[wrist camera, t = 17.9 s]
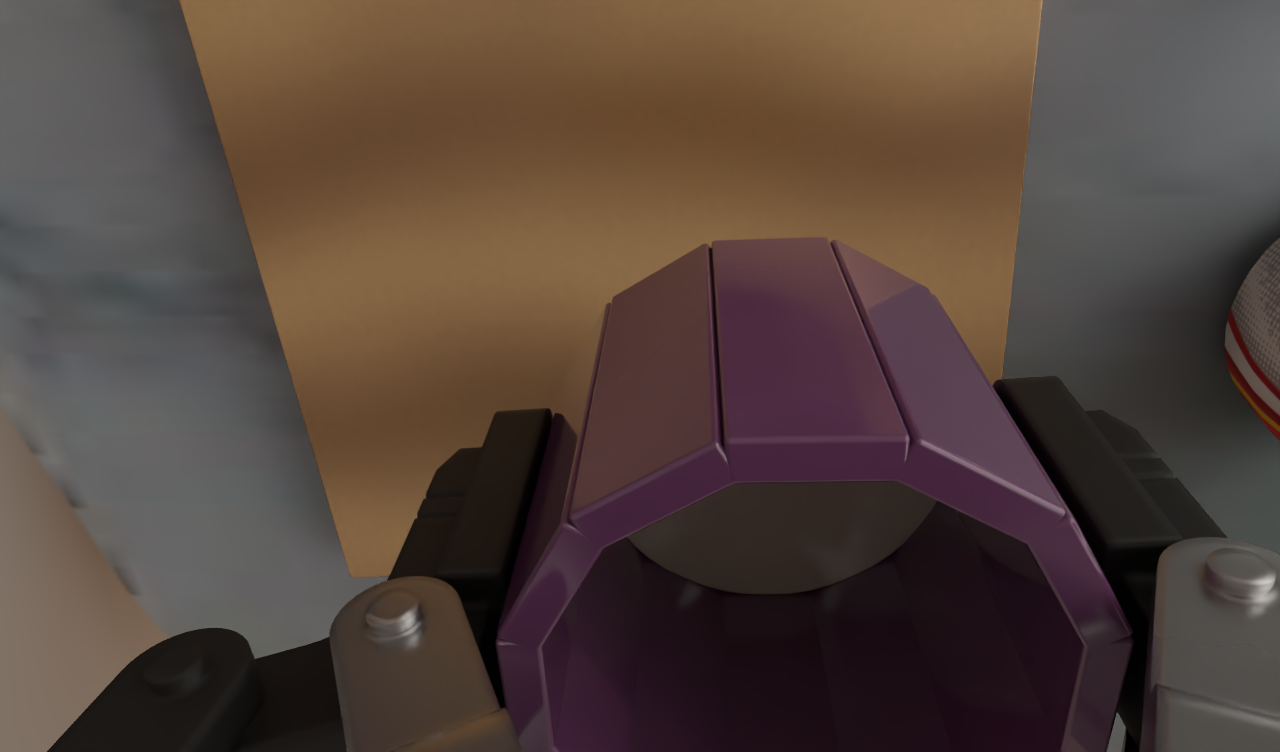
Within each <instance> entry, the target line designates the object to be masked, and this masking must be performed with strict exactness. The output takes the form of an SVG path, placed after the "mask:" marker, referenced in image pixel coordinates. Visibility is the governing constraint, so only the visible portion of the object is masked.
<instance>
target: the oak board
mask: <svg viewBox="0 0 1280 752" xmlns="http://www.w3.org/2000/svg"><path fill="white" fill-rule="evenodd" d="M179 1H180V5H181V8H182V11H183V15H184V18H185V21H186V25H187V28H188V32H189V35H190V38H191V42H192V45H193V48H194V52H195V55H196V58H197V62H198V65H199V69H200V72H201V75H202V79H203V82H204V85H205V89H206V92H207V96H208V99H209V102H210V106H211V109H212V112H213V116H214V119H215V122H216V126H217V129H218V133H219V136H220V139H221V143H222V146H223V149H224V153H225V156H226V159H227V163H228V166H229V170H230V173H231V176H232V180H233V183H234V186H235V190H236V193H237V197H238V200H239V203H240V207H241V210H242V213H243V217H244V220H245V223H246V227H247V230H248V234H249V237H250V240H251V244H252V247H253V250H254V254H255V257H256V261H257V264H258V267H259V271H260V274H261V277H262V281H263V284H264V287H265V291H266V294H267V298H268V301H269V304H270V308H271V311H272V314H273V318H274V321H275V325H276V328H277V331H278V335H279V338H280V341H281V345H282V348H283V351H284V355H285V358H286V362H287V365H288V368H289V372H290V375H291V378H292V382H293V385H294V389H295V392H296V395H297V399H298V402H299V405H300V409H301V412H302V415H303V419H304V422H305V426H306V429H307V432H308V436H309V439H310V442H311V446H312V449H313V453H314V456H315V459H316V463H317V466H318V469H319V473H320V476H321V479H322V483H323V486H324V490H325V493H326V496H327V500H328V503H329V506H330V510H331V513H332V517H333V520H334V523H335V527H336V530H337V533H338V537H339V540H340V543H341V547H342V550H343V554H344V557H345V560H346V564H347V567H348V570H349V574H350V577H375V576H390V574H391V571H392V569H393V567H394V565H395V562H396V560H397V558H398V555H399V553H400V551H401V549H402V546H403V544H404V542H405V540H406V537H407V535H408V533H409V531H410V528H411V526H412V524H413V522H414V519H417V513H418V510H419V508H420V506H421V503H422V501H423V499H426V492H427V490H428V488H429V485H430V483H431V481H432V479H433V476H434V474H435V472H436V470H437V469H438V468H439V467H440V466H441V465H442V464H444V463H445V462H446V461H447V460H448V459H449V458H450V457H451V456H452V455H454V454H455V453H456V452H457V451H458V450H459V449H460V448H476V447H482V445H483V443H484V440H485V438H486V435H487V432H488V430H489V427H490V424H491V422H492V419H493V416H494V414H495V413H496V412H497V411H507V410H522V409H538V408H550V410H551V412H552V414H553V418H554V414H555V410H556V406H557V402H558V399H559V395H560V391H561V387H562V384H563V383H564V381H565V379H566V377H567V375H568V373H569V372H570V370H571V368H572V366H573V364H574V362H575V361H576V359H577V357H578V355H579V353H580V351H581V349H582V348H583V346H584V344H585V342H586V340H587V338H588V337H589V335H590V333H591V331H592V329H593V327H594V325H595V324H596V322H597V320H598V318H599V316H600V314H601V313H602V311H603V309H604V307H605V305H606V304H607V303H611V301H612V298H613V297H614V296H615V295H617V294H619V293H621V292H622V291H624V290H626V289H627V288H629V287H631V286H633V285H634V284H636V283H638V282H639V281H641V280H643V279H644V278H646V277H648V276H650V275H651V274H653V273H655V272H656V271H658V270H660V269H662V268H663V267H665V266H667V265H668V264H670V263H672V262H673V261H675V260H677V259H679V258H680V257H682V256H684V255H685V254H687V253H689V252H691V251H692V250H694V249H696V248H697V247H699V246H701V245H702V244H706V243H707V244H708V245H710V247H711V244H712V242H713V241H715V240H747V239H780V238H812V237H826V238H828V240H829V242H831V241H832V240H838V241H840V242H842V243H844V244H846V245H847V246H849V247H851V248H853V249H855V250H857V251H859V252H861V253H863V254H864V255H866V256H868V257H870V258H872V259H874V260H876V261H878V262H880V263H881V264H883V265H885V266H887V267H889V268H891V269H893V270H895V271H897V272H898V273H900V274H902V275H904V276H906V277H908V278H910V279H912V280H914V281H915V282H917V283H919V284H921V285H923V286H925V287H927V288H928V289H929V290H930V292H931V293H932V294H934V295H935V296H936V297H937V298H938V300H939V302H940V303H941V305H942V306H943V308H944V310H945V311H946V313H947V314H948V316H949V318H950V319H951V321H952V322H953V324H954V326H955V327H956V329H957V330H958V332H959V334H960V335H961V337H962V338H963V340H964V342H965V343H966V345H967V346H968V348H969V350H970V351H971V353H972V354H973V356H974V358H975V359H976V361H977V362H978V364H979V366H980V367H981V369H982V370H983V372H984V374H985V375H986V377H987V378H988V380H989V382H990V383H991V385H992V386H993V384H994V382H995V381H996V380H1000V379H1002V375H1003V366H1004V357H1005V348H1006V338H1007V329H1008V320H1009V310H1010V301H1011V292H1012V282H1013V273H1014V264H1015V255H1016V245H1017V236H1018V227H1019V217H1020V208H1021V199H1022V189H1023V180H1024V171H1025V162H1026V152H1027V143H1028V134H1029V124H1030V115H1031V106H1032V96H1033V87H1034V78H1035V69H1036V59H1037V50H1038V41H1039V31H1040V22H1041V13H1042V3H1043V0H179Z"/></svg>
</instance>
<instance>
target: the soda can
mask: <svg viewBox="0 0 1280 752" xmlns="http://www.w3.org/2000/svg"><path fill="white" fill-rule="evenodd" d="M1225 354H1226V361H1227V366H1228V369H1229V372H1230V375H1231V377H1232V380H1233V382H1234V384H1235V385H1236V387H1237V388H1238V390H1239V392H1240V393H1241V395H1242V396H1243V397H1244V399H1245V400H1246V401H1247V402H1248V404H1249V405H1250V406H1251V407H1252V409H1253V410H1254V411H1255V412H1256V414H1257V415H1258V416H1259V417H1260V419H1261V420H1262V421H1263V423H1264V424H1265V425H1266V426H1267V428H1268V429H1269V430H1270V431H1271V432H1272V433H1273V434H1274V435H1275V436H1276V437H1277V438H1278V439H1279V440H1280V237H1279V238H1278V239H1277V240H1276V241H1275V242H1274V243H1273V244H1272V245H1271V246H1270V247H1269V248H1268V249H1267V250H1266V251H1265V252H1264V253H1263V255H1262V256H1261V257H1260V258H1259V260H1258V261H1257V262H1256V264H1255V265H1254V266H1253V267H1252V269H1251V270H1250V271H1249V273H1248V275H1247V277H1246V278H1245V280H1244V282H1243V283H1242V285H1241V287H1240V288H1239V290H1238V292H1237V295H1236V297H1235V300H1234V302H1233V305H1232V307H1231V309H1230V313H1229V317H1228V322H1227V326H1226V333H1225Z"/></svg>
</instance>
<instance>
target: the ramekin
mask: <svg viewBox="0 0 1280 752" xmlns="http://www.w3.org/2000/svg"><path fill="white" fill-rule="evenodd" d="M1132 634H1133V628H1132V626H1131V624H1130V622H1129V620H1128V618H1127V616H1126V615H1125V613H1124V611H1123V609H1122V607H1121V605H1120V603H1119V601H1118V599H1117V597H1116V596H1115V594H1114V592H1113V590H1112V588H1111V586H1110V584H1109V582H1108V580H1107V578H1106V577H1105V575H1104V573H1103V571H1102V569H1101V567H1100V565H1099V563H1098V561H1097V559H1096V558H1095V556H1094V554H1093V552H1092V550H1091V548H1090V546H1089V544H1088V542H1087V540H1086V539H1085V537H1084V535H1083V533H1082V531H1081V529H1080V527H1079V525H1078V523H1077V521H1076V520H1075V518H1074V516H1073V515H1072V513H1071V511H1070V510H1069V508H1068V507H1067V505H1066V503H1065V502H1064V500H1063V499H1062V497H1061V495H1060V494H1059V492H1058V491H1057V489H1056V487H1055V486H1054V484H1053V483H1052V481H1051V479H1050V478H1049V476H1048V475H1047V473H1046V471H1045V470H1044V468H1043V467H1042V465H1041V463H1040V462H1039V460H1038V459H1037V457H1036V455H1035V454H1034V452H1033V451H1032V449H1031V447H1030V446H1029V444H1028V443H1027V441H1026V439H1025V438H1024V436H1023V435H1022V433H1021V431H1020V430H1019V428H1018V427H1017V425H1016V423H1015V422H1014V420H1013V419H1012V417H1011V415H1010V414H1009V412H1008V410H1007V409H1006V407H1005V406H1004V404H1003V402H1002V401H1001V399H1000V398H999V396H998V394H997V393H996V391H995V390H994V388H993V386H992V385H991V383H990V382H989V380H988V378H987V377H986V375H985V374H984V372H983V370H982V369H981V367H980V366H979V364H978V362H977V361H976V359H975V358H974V356H973V354H972V353H971V351H970V350H969V348H968V346H967V345H966V343H965V342H964V340H963V338H962V337H961V335H960V334H959V332H958V330H957V329H956V327H955V326H954V324H953V322H952V321H951V319H950V318H949V316H948V314H947V313H946V311H945V310H944V308H943V306H942V305H941V303H940V302H939V300H938V298H937V297H936V296H935V295H934V294H932V293H931V292H930V290H929V289H928V288H927V287H925V286H923V285H921V284H919V283H917V282H915V281H914V280H912V279H910V278H908V277H906V276H904V275H902V274H900V273H898V272H897V271H895V270H893V269H891V268H889V267H887V266H885V265H883V264H881V263H880V262H878V261H876V260H874V259H872V258H870V257H868V256H866V255H864V254H863V253H861V252H859V251H857V250H855V249H853V248H851V247H849V246H847V245H846V244H844V243H842V242H840V241H838V240H832V241H831V242H829V240H828V238H826V237H812V238H780V239H747V240H715V241H713V242H712V244H711V247H710V245H708V244H707V243H706V244H702V245H701V246H699V247H697V248H696V249H694V250H692V251H691V252H689V253H687V254H685V255H684V256H682V257H680V258H679V259H677V260H675V261H673V262H672V263H670V264H668V265H667V266H665V267H663V268H662V269H660V270H658V271H656V272H655V273H653V274H651V275H650V276H648V277H646V278H644V279H643V280H641V281H639V282H638V283H636V284H634V285H633V286H631V287H629V288H627V289H626V290H624V291H622V292H621V293H619V294H617V295H615V296H614V297H613V298H612V301H611V303H607V304H606V305H605V307H604V309H603V311H602V313H601V314H600V316H599V318H598V320H597V322H596V324H595V325H594V327H593V329H592V331H591V333H590V335H589V337H588V338H587V340H586V342H585V344H584V346H583V348H582V349H581V351H580V353H579V355H578V357H577V359H576V361H575V362H574V364H573V366H572V368H571V370H570V372H569V373H568V375H567V377H566V379H565V381H564V383H563V384H562V387H561V391H560V395H559V399H558V402H557V406H556V410H555V414H554V418H553V421H552V425H551V429H550V433H549V436H548V440H547V444H546V448H545V452H544V455H543V459H542V463H541V467H540V471H539V474H538V478H537V482H536V486H535V489H534V493H533V497H532V501H531V505H530V508H529V512H528V516H527V520H526V523H525V527H524V531H523V535H522V539H521V542H520V546H519V550H518V554H517V558H516V561H515V565H514V569H513V573H512V576H511V580H510V584H509V588H508V592H507V595H506V599H505V603H504V607H503V610H502V614H501V618H500V622H499V626H498V629H497V637H496V640H495V647H496V654H497V660H498V666H499V673H500V679H501V685H502V692H503V698H504V704H505V708H506V709H507V711H508V713H509V715H510V718H511V720H512V723H513V725H514V728H515V731H516V733H517V736H518V739H519V741H520V744H521V747H522V749H523V752H1107V748H1108V744H1109V740H1110V736H1111V732H1112V728H1113V724H1114V720H1115V717H1116V713H1117V709H1118V705H1119V701H1120V697H1121V693H1122V689H1123V685H1124V681H1125V678H1126V674H1127V670H1128V666H1129V662H1130V658H1131V654H1132V650H1133V646H1134V640H1133V637H1132Z"/></svg>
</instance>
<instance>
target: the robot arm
mask: <svg viewBox="0 0 1280 752" xmlns="http://www.w3.org/2000/svg"><path fill="white" fill-rule="evenodd" d="M993 388H994V390H995V391H996V393H997V394H998V396H999V398H1000V399H1001V401H1002V402H1003V404H1004V406H1005V407H1006V409H1007V410H1008V412H1009V414H1010V415H1011V417H1012V419H1013V420H1014V422H1015V423H1016V425H1017V427H1018V428H1019V430H1020V431H1021V433H1022V435H1023V436H1024V438H1025V439H1026V441H1027V443H1028V444H1029V446H1030V447H1031V449H1032V451H1033V452H1034V454H1035V455H1036V457H1037V459H1038V460H1039V462H1040V463H1041V465H1042V467H1043V468H1044V470H1045V471H1046V473H1047V475H1048V476H1049V478H1050V479H1051V481H1052V483H1053V484H1054V486H1055V487H1056V489H1057V491H1058V492H1059V494H1060V495H1061V497H1062V499H1063V500H1064V502H1065V503H1066V505H1067V507H1068V508H1069V510H1070V511H1071V513H1072V515H1073V516H1074V518H1075V520H1076V521H1077V523H1078V525H1079V527H1080V529H1081V531H1082V533H1083V535H1084V537H1085V539H1086V540H1087V542H1088V544H1089V546H1090V548H1091V550H1092V552H1093V554H1094V556H1095V558H1096V559H1097V561H1098V563H1099V565H1100V567H1101V569H1102V571H1103V573H1104V575H1105V577H1106V578H1107V580H1108V582H1109V584H1110V586H1111V588H1112V590H1113V592H1114V594H1115V596H1116V597H1117V599H1118V601H1119V603H1120V605H1121V607H1122V609H1123V611H1124V613H1125V615H1126V616H1127V618H1128V620H1129V622H1130V624H1131V626H1132V628H1133V634H1132V637H1133V640H1134V646H1133V650H1132V654H1131V658H1130V662H1129V666H1128V670H1127V674H1126V678H1125V681H1124V685H1123V689H1122V693H1121V697H1120V701H1119V705H1118V709H1117V712H1118V713H1119V715H1120V717H1121V719H1122V721H1123V723H1124V724H1125V726H1126V731H1125V736H1124V741H1123V746H1122V751H1121V752H1280V554H1278V553H1276V552H1274V551H1271V550H1269V549H1267V548H1264V547H1261V546H1258V545H1255V544H1252V543H1248V542H1244V541H1239V540H1235V539H1228V538H1227V537H1226V535H1225V534H1224V533H1223V532H1222V531H1221V529H1220V528H1219V527H1218V526H1217V525H1216V524H1215V522H1214V521H1213V520H1212V519H1211V518H1210V516H1209V515H1208V514H1207V513H1206V512H1205V511H1204V509H1203V508H1202V507H1201V506H1200V505H1199V503H1198V502H1197V501H1196V500H1195V499H1194V498H1193V496H1192V495H1191V494H1190V493H1189V492H1188V490H1187V489H1186V488H1185V487H1184V486H1183V484H1182V483H1181V482H1180V481H1179V480H1178V479H1177V478H1173V473H1172V471H1171V470H1170V469H1169V468H1168V467H1167V466H1166V464H1165V463H1164V462H1163V461H1162V460H1161V458H1157V457H1156V453H1155V451H1154V450H1153V449H1152V448H1151V447H1150V445H1149V444H1148V443H1147V442H1146V441H1145V439H1144V438H1143V437H1142V436H1141V435H1140V434H1139V432H1138V431H1137V430H1136V429H1134V428H1132V427H1131V426H1129V425H1127V424H1125V423H1124V422H1122V421H1120V420H1118V419H1117V418H1115V417H1113V416H1111V415H1110V414H1108V413H1106V412H1104V411H1103V410H1096V411H1084V410H1083V408H1082V407H1081V406H1080V404H1079V403H1078V402H1077V401H1076V399H1075V398H1074V397H1073V395H1072V394H1071V393H1070V392H1069V390H1068V389H1067V388H1066V386H1065V385H1064V384H1063V383H1062V381H1061V380H1060V379H1059V378H1058V377H1056V376H1047V377H1031V378H1016V379H1000V380H996V381H995V382H994V384H993ZM552 421H553V414H552V412H551V410H550V408H538V409H522V410H507V411H497V412H496V413H495V414H494V416H493V419H492V422H491V424H490V427H489V430H488V432H487V435H486V438H485V440H484V443H483V445H482V447H476V448H460V449H459V450H458V451H457V452H456V453H455V454H454V455H452V456H451V457H450V458H449V459H448V460H447V461H446V462H445V463H444V464H442V465H441V466H440V467H439V468H438V469H437V470H436V472H435V474H434V476H433V479H432V481H431V483H430V485H429V488H428V490H427V492H426V499H423V501H422V503H421V506H420V508H419V510H418V513H417V519H414V522H413V524H412V526H411V528H410V531H409V533H408V535H407V537H406V540H405V542H404V544H403V546H402V549H401V551H400V553H399V555H398V558H397V560H396V562H395V565H394V567H393V569H392V571H391V574H390V576H389V578H388V580H387V581H385V582H383V583H380V584H377V585H375V586H373V587H371V588H369V589H367V590H365V591H363V592H362V593H360V594H359V595H357V596H356V597H354V598H353V599H352V600H351V601H349V602H348V603H347V604H346V605H345V606H344V607H343V608H342V609H341V610H340V612H339V613H338V614H337V616H336V617H335V619H334V621H333V623H332V625H331V629H330V637H328V638H325V639H323V640H321V641H317V642H314V643H311V644H308V645H305V646H301V647H297V648H294V649H290V650H286V651H283V652H279V653H276V654H272V655H268V656H265V657H261V658H258V659H254V656H253V653H252V651H251V648H250V646H249V643H248V641H247V640H246V639H245V638H244V637H243V636H242V635H240V634H239V633H237V632H235V631H232V630H229V629H223V628H206V629H198V630H194V631H189V632H185V633H182V634H179V635H176V636H174V637H171V638H169V639H167V640H164V641H162V642H161V643H158V644H156V645H155V646H153V647H151V648H149V649H148V650H146V651H145V652H143V653H142V654H140V655H139V656H138V657H136V658H135V659H134V660H133V661H131V662H130V663H129V664H128V665H127V666H126V667H125V668H124V669H123V670H122V671H121V672H120V673H119V674H118V675H117V676H116V677H115V678H114V680H113V681H112V682H111V683H110V684H109V685H108V686H107V687H106V688H105V689H104V691H103V692H102V693H101V694H100V695H99V696H98V697H97V698H96V699H95V700H94V701H93V702H92V703H91V705H90V706H89V707H88V708H87V709H86V710H85V711H84V712H83V713H82V714H81V715H80V716H79V718H78V719H77V720H76V721H75V722H74V723H73V724H72V725H71V726H70V727H69V728H68V730H67V731H66V732H65V733H64V734H63V735H62V736H61V737H60V738H59V739H58V740H57V741H56V743H54V745H53V746H52V747H51V748H50V749H49V750H48V751H47V752H523V749H522V747H521V744H520V741H519V739H518V736H517V733H516V731H515V728H514V725H513V723H512V720H511V718H510V715H509V713H508V711H507V709H506V708H505V704H504V698H503V692H502V685H501V679H500V673H499V666H498V660H497V654H496V647H495V640H496V637H497V629H498V626H499V622H500V618H501V614H502V610H503V607H504V603H505V599H506V595H507V592H508V588H509V584H510V580H511V576H512V573H513V569H514V565H515V561H516V558H517V554H518V550H519V546H520V542H521V539H522V535H523V531H524V527H525V523H526V520H527V516H528V512H529V508H530V505H531V501H532V497H533V493H534V489H535V486H536V482H537V478H538V474H539V471H540V467H541V463H542V459H543V455H544V452H545V448H546V444H547V440H548V436H549V433H550V429H551V425H552Z"/></svg>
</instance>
